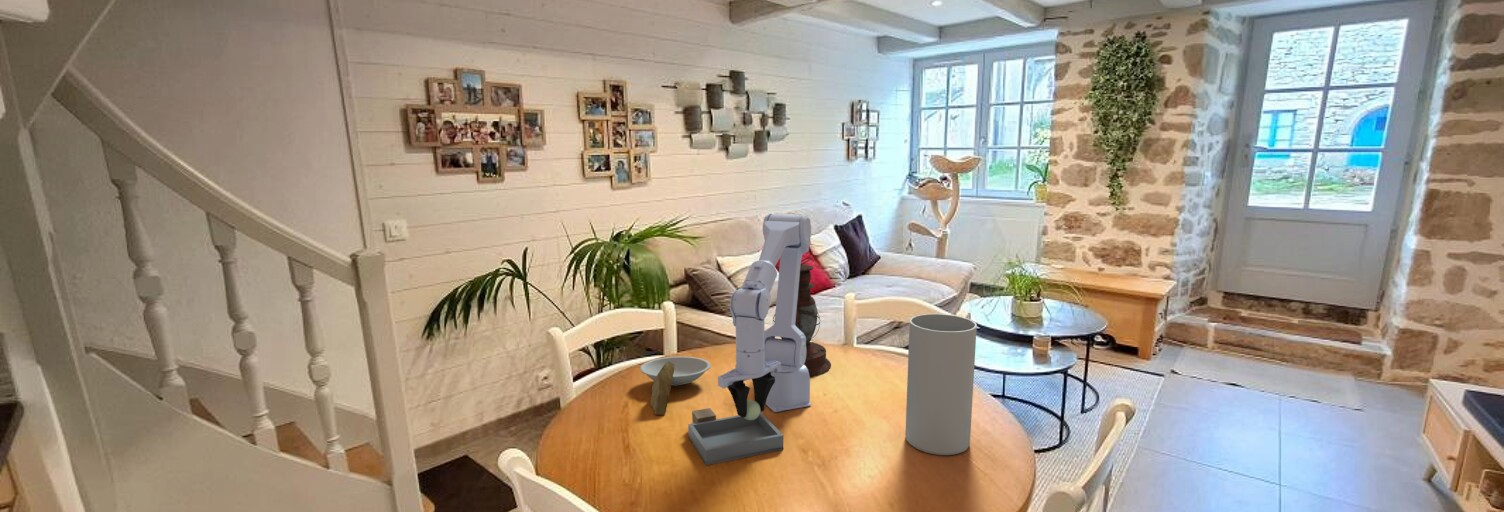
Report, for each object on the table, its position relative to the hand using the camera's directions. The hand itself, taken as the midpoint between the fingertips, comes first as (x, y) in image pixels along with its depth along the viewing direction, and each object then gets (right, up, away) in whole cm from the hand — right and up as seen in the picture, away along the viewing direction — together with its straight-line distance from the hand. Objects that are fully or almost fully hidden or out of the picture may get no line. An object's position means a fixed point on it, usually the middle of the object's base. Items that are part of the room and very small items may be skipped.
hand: (750, 412), depth 125 cm
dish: (-19, -1, +31) cm, 36 cm away
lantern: (+12, +2, +44) cm, 46 cm away
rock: (-21, -3, +18) cm, 28 cm away
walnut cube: (-10, -5, +6) cm, 13 cm away
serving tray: (-3, -6, 0) cm, 7 cm away
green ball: (0, -1, 0) cm, 2 cm away
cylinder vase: (+38, -6, 0) cm, 38 cm away
